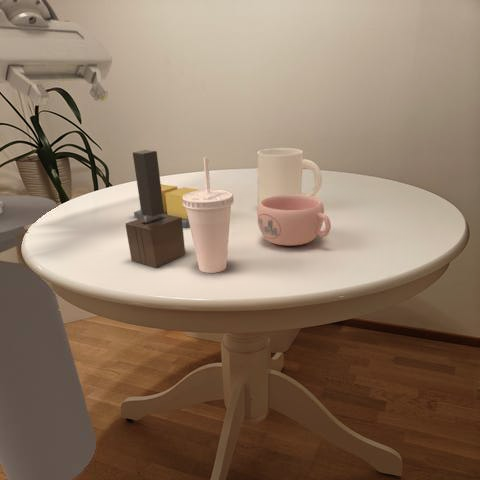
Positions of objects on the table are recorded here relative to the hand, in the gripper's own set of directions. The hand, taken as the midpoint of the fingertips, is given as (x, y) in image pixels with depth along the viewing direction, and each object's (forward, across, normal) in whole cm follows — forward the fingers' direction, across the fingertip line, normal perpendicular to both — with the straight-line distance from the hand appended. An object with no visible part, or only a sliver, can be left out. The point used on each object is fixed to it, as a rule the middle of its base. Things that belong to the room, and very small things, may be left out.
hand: (74, 99), depth 57 cm
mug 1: (+26, -32, -4) cm, 41 cm away
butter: (+14, -17, -14) cm, 26 cm away
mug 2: (+33, -16, +4) cm, 37 cm away
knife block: (+23, 0, -6) cm, 24 cm away
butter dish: (+14, -17, -14) cm, 26 cm away
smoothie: (+30, -1, 0) cm, 30 cm away
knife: (+23, 0, -6) cm, 24 cm away
